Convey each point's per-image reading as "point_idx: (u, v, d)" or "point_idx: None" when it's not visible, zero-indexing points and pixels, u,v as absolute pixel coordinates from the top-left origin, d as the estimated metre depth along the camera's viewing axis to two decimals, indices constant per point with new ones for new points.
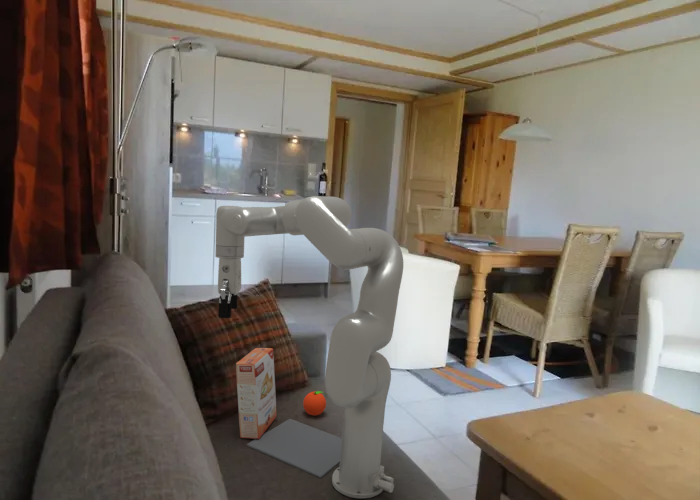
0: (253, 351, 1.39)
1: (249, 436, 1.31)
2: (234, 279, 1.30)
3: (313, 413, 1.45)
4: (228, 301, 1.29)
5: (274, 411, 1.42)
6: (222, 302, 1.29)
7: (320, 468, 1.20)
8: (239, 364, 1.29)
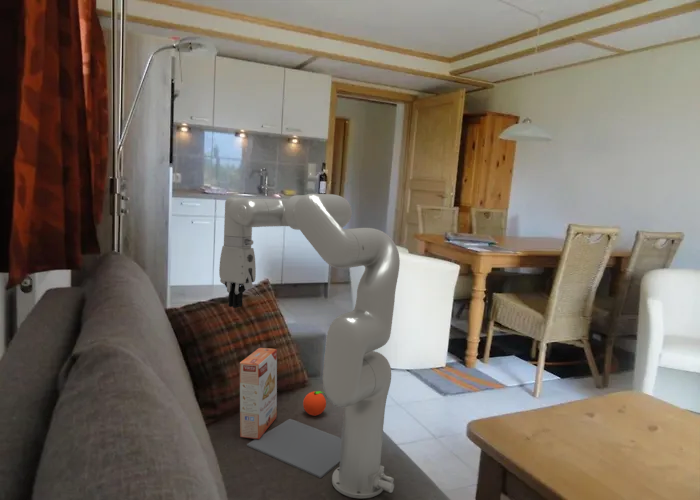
0: (257, 351, 1.39)
1: (249, 436, 1.31)
2: (255, 267, 1.37)
3: (313, 413, 1.45)
4: (243, 292, 1.38)
5: (274, 412, 1.42)
6: (240, 292, 1.37)
7: (320, 468, 1.20)
8: (243, 363, 1.29)
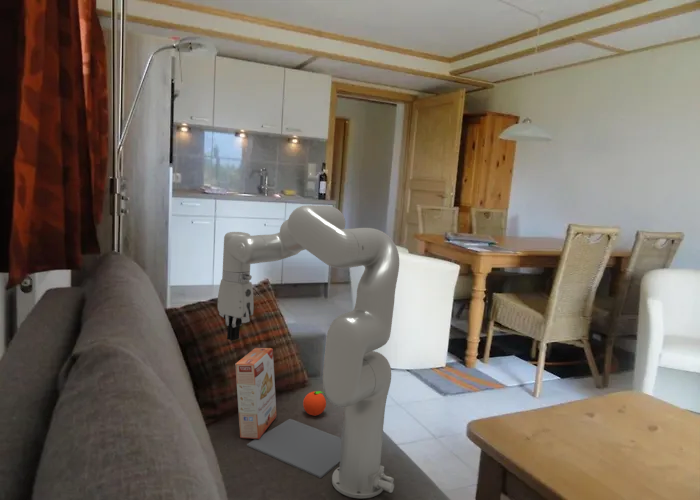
0: (253, 351, 1.39)
1: (249, 436, 1.31)
2: (253, 301, 1.38)
3: (313, 413, 1.45)
4: (240, 324, 1.40)
5: (274, 411, 1.42)
6: (237, 325, 1.39)
7: (320, 468, 1.20)
8: (239, 364, 1.29)
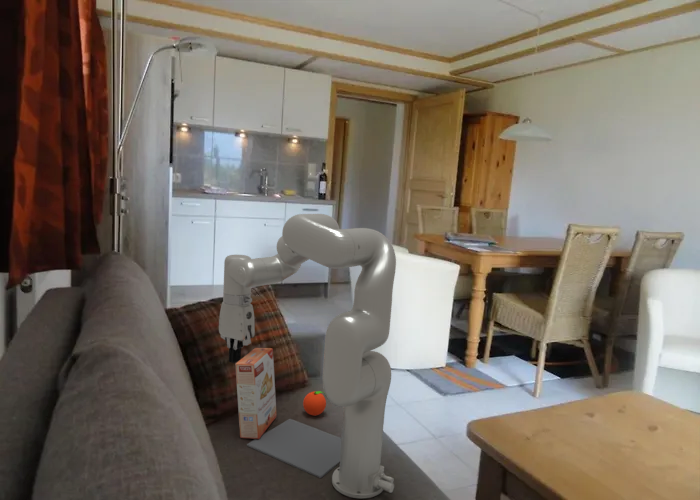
0: (253, 351, 1.39)
1: (249, 436, 1.31)
2: (254, 323, 1.39)
3: (313, 413, 1.45)
4: (242, 347, 1.40)
5: (274, 411, 1.42)
6: (239, 348, 1.39)
7: (320, 468, 1.20)
8: (239, 364, 1.29)
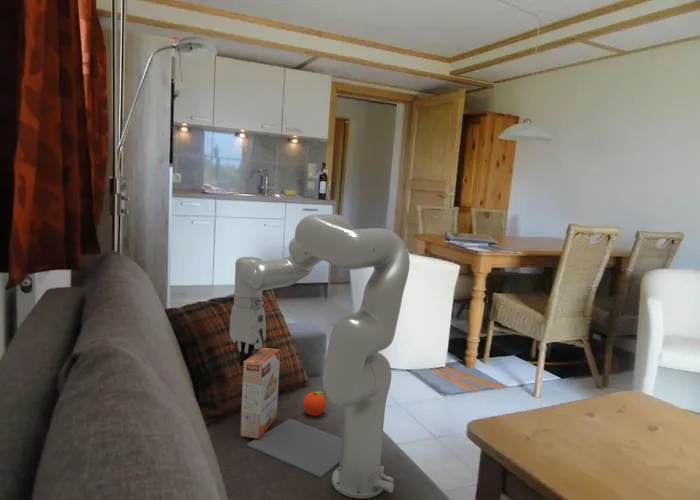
0: (260, 351, 1.39)
1: (249, 435, 1.31)
2: (265, 326, 1.37)
3: (313, 413, 1.45)
4: (253, 350, 1.38)
5: (275, 412, 1.42)
6: (250, 351, 1.37)
7: (320, 468, 1.20)
8: (247, 363, 1.29)
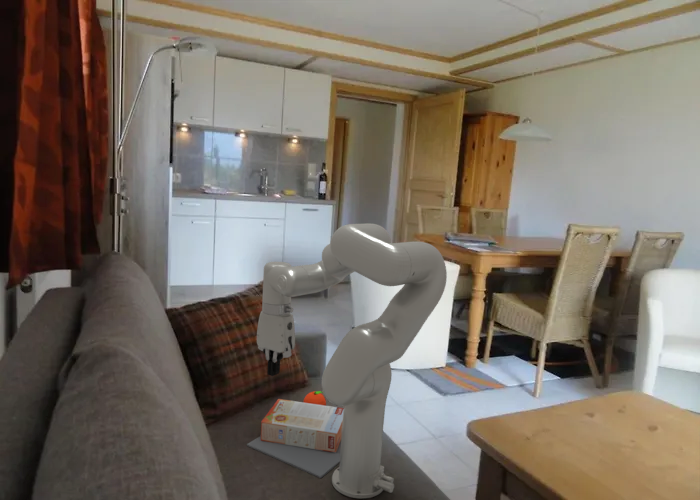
0: None
1: (262, 431, 1.30)
2: (294, 334, 1.32)
3: None
4: (281, 359, 1.33)
5: None
6: (278, 360, 1.32)
7: (320, 468, 1.20)
8: (335, 437, 1.26)
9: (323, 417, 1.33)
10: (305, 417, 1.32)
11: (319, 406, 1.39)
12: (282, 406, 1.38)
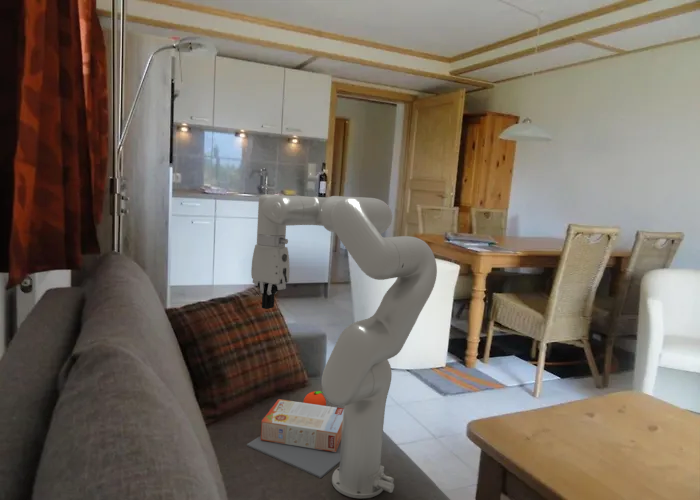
0: None
1: (262, 431, 1.30)
2: None
3: None
4: (275, 292, 1.33)
5: None
6: (272, 293, 1.32)
7: (320, 468, 1.20)
8: (336, 436, 1.26)
9: (323, 417, 1.33)
10: (306, 417, 1.32)
11: (319, 406, 1.40)
12: (282, 406, 1.38)
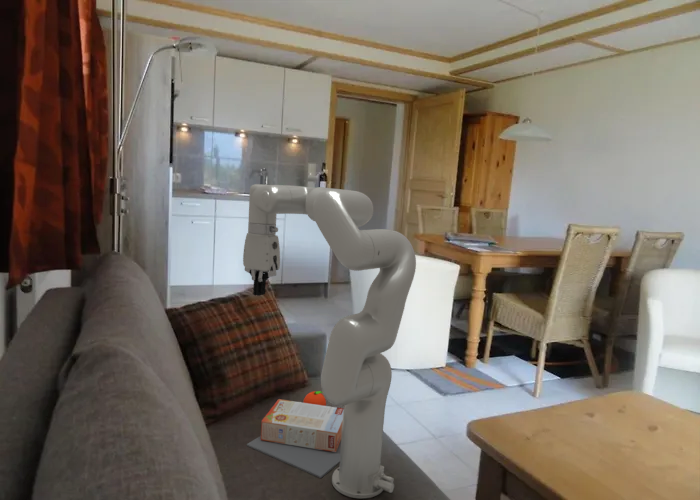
0: None
1: (262, 431, 1.30)
2: (279, 254, 1.36)
3: None
4: (266, 279, 1.37)
5: None
6: (264, 280, 1.36)
7: (320, 468, 1.20)
8: (336, 436, 1.26)
9: (323, 417, 1.33)
10: (306, 417, 1.32)
11: (319, 406, 1.40)
12: (282, 406, 1.38)
